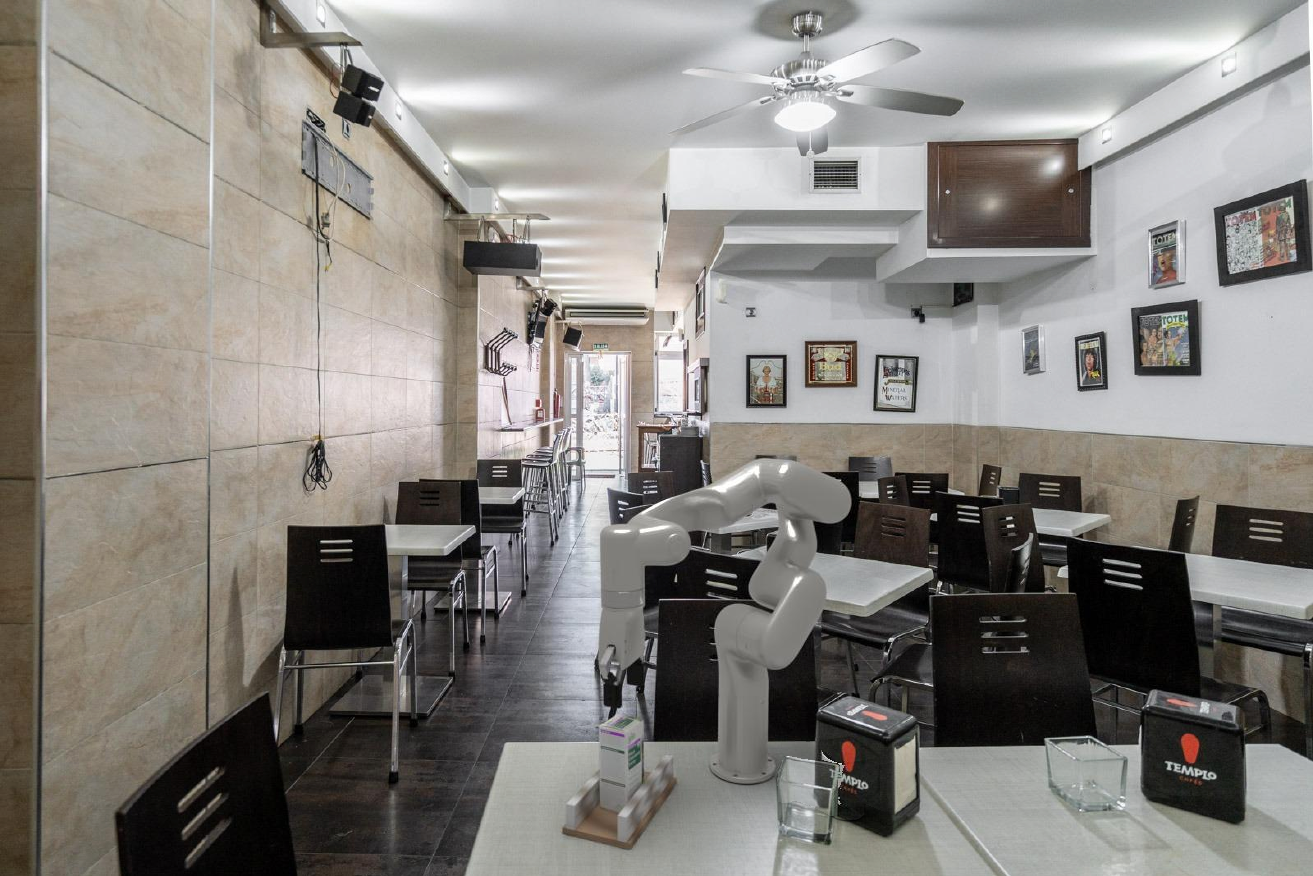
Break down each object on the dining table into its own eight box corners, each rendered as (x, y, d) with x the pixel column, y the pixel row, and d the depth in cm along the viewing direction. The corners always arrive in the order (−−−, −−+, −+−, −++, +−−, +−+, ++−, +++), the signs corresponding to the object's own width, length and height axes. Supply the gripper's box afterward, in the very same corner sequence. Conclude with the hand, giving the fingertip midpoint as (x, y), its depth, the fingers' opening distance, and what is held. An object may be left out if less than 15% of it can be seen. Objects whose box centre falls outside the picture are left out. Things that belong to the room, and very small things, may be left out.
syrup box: (627, 817, 120) (628, 731, 119) (598, 807, 123) (598, 723, 122) (644, 801, 125) (645, 719, 124) (615, 792, 128) (616, 711, 127)
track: (617, 771, 137) (617, 745, 137) (676, 783, 133) (676, 756, 133) (562, 833, 117) (562, 803, 117) (630, 849, 112) (630, 818, 112)
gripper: (623, 583, 132) (624, 675, 133) (580, 609, 116) (582, 712, 117) (661, 586, 130) (662, 680, 130) (622, 613, 113) (624, 719, 114)
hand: (624, 695), depth 124 cm, fingers open, 9 cm apart
